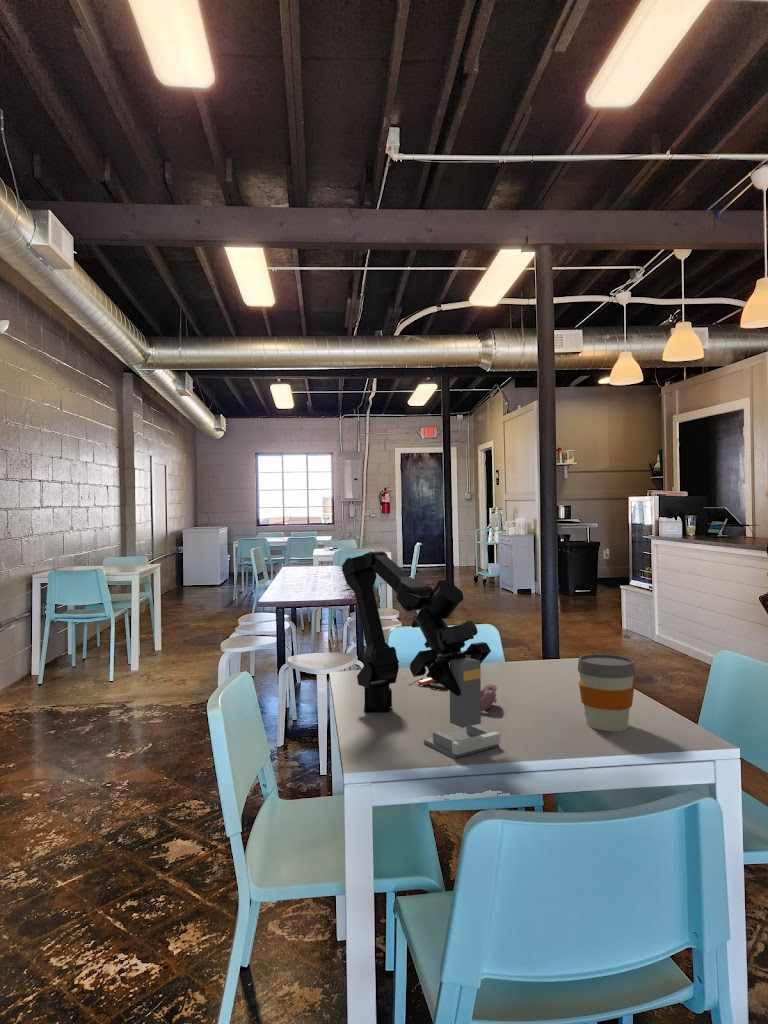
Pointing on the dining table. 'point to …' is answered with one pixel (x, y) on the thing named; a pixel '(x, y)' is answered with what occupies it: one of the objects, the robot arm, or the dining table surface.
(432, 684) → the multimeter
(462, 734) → the rail plate
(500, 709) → the dining table surface
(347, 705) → the dining table surface
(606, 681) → the reusable coffee cup
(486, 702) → the video game controller
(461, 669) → the block
